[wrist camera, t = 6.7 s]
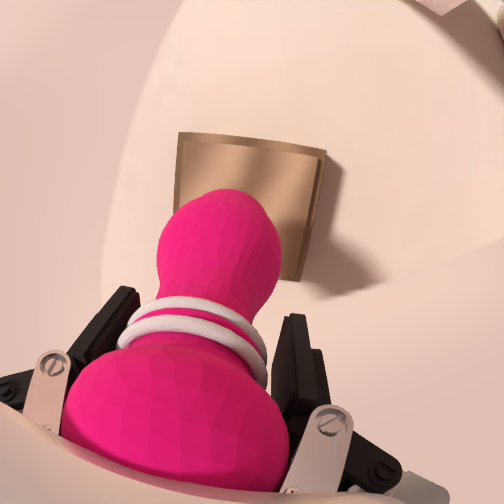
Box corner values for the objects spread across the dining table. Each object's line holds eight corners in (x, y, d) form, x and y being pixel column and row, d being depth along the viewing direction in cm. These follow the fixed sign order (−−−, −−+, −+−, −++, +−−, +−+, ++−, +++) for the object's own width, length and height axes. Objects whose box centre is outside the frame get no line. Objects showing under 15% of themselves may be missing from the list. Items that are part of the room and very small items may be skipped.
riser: (319, 148, 27) (327, 150, 23) (297, 267, 33) (300, 284, 29) (188, 132, 27) (176, 132, 23) (181, 251, 33) (170, 266, 29)
